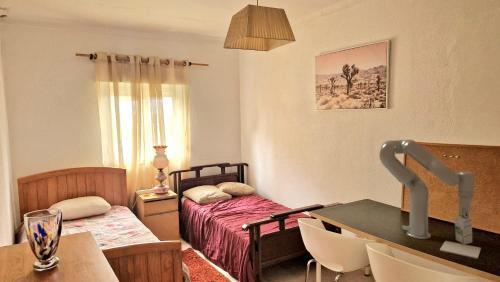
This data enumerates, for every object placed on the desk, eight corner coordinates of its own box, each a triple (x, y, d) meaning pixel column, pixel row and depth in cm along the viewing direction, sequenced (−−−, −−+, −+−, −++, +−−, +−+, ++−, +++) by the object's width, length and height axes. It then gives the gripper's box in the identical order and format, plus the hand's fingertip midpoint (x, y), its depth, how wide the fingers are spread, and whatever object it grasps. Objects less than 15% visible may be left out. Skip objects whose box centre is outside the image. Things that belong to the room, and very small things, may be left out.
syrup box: (472, 242, 172) (472, 218, 168) (463, 245, 171) (462, 221, 167) (464, 237, 177) (463, 213, 174) (454, 240, 176) (453, 216, 173)
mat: (439, 250, 164) (439, 249, 164) (445, 241, 176) (445, 240, 176) (477, 258, 154) (477, 257, 154) (480, 248, 165) (480, 247, 165)
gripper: (459, 190, 183) (459, 221, 185) (455, 195, 172) (455, 228, 173) (475, 192, 179) (474, 224, 180) (472, 197, 167) (471, 231, 168)
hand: (465, 226), depth 176 cm, fingers closed
